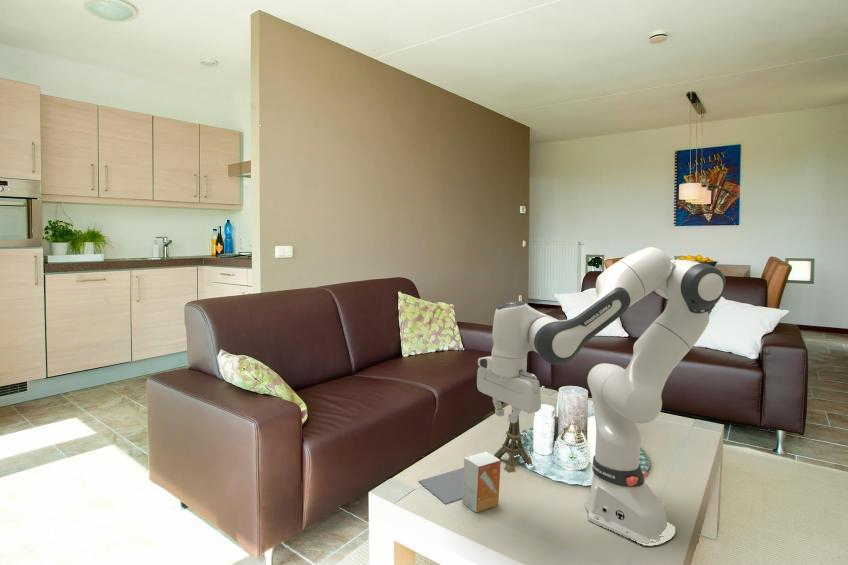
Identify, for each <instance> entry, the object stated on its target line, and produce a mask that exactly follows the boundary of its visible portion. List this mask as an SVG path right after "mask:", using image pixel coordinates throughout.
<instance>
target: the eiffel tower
mask: <svg viewBox="0 0 848 565" xmlns="http://www.w3.org/2000/svg"><path fill="white" fill-rule="evenodd" d="M512 412H513V410H512V409H511V413H510V414H512ZM520 430H521V429H520V419H519V415H518V419H517V422H516V423H512V422H510V421H509V426H508V430H506V432H505V434H506V438H505V440H504V443H502V444H501V447H500V448H499V449H498V450H497V451H496V452H495V453H494V454H493V456H495V457H496V458H498V459H500V460H501V461H502V457H503V456H504V455H505V454H506V453H507V455H508V456H509V457H508V460H507V462H506V464H505V466H504V467H503V470H505V472H507V473H508V474H510V473H514V472H517V470H516V468H515V460H514V459H515V458H514V456H516V455H518V454H519V455H520V456H521V458H522V461H523V463H527V464H528V465H529V464H532V463H533V461H532V459H531V458H530V457H529V455H528V453H527V452H526V451H525V449H526V447H524V445H523V443H522V442H523V441H522V437H523V435H522V433H521V432H520Z"/></svg>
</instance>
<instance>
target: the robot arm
mask: <svg viewBox="0 0 848 565" xmlns="http://www.w3.org/2000/svg"><path fill="white" fill-rule="evenodd" d="M725 289H726V277H725V275H724V273H723V272H722V271H721V270H719V269H718V268H717V267H715V266H713V265H710V264H708V263H701V262H698V261H696V260H695V261H694V260H689V259H673V258H670V257H669V255H668V254H667V253H666V252H665V251H663V250H662V249H661V248H659V247H655V246H648V247H644V248H642V249H639V250H637V251H635V252H633V253H631V254H630V253H629V255H627V256H624V257H623V258H621V259H619V260H618V261H615V263H613V264H611V265H610V266H608V267H607V268H606V269H604V270H603V271H602V272H601V273H600V274H599V275H598V276H597V278H596V281H595V293H596V295H597V297H596V298H595V300H594V301H593V302H591V303H590V304H589V305H587V306H586V307H585V308H583V309H582V310H580V311H579V312H578V313H576V314H575V315H574V316H572V317H570V318H568V319H564V320H563V319H557V318H555V317H553V316H551V315H550V314H549V315H548V314H546V313H543V312H540V311H538V310H536V309H535V308H533V307H531V306H530V305H529V304H527V302H525V301H522V300H521V301H520V300H516V301H515V300H510V301H506V302H503V303H501V304H499V305H498V306H497V307H496V309H495V312H494V315H493V316H494V317H493V324H492V340H493V342H492V343H493V345H492V349H491V355H490V356H489V355H488V356H484V357H479V358H478V359H477V365H478V368H477V371H476V372H477V375H476V386H477V390H478V391H479V392H481V393H483V394H484V395H487V396H489V397H491V398H492V403H493V406H494V408H495V413H494V414H495V415H496V416H497V417H499V418H500V417H504V416H505V408H503V404H502V402H503V403H505V404H507V405H508V406H511V413H512V414H511V413H509V414H508V422H509V423H510V422H512V423H516V422H517V419H518V415H519V414H521V412H522V411H523V412H524V413H527V414H533V413H537V412H539V411H540V410H541V408H542V398H541V397H542V396H541V395H542V394H541V387H540V386H541V385H540V381H539V379H538V377H537V376H536V374H533V373H531V372H527V365H528V364H527V363H528V362H527V361H528V353H529V352H535V353H537V354H538V355H539V357H541V358H542V359H543V361H545V362H546V363H548V364H551V365H557V366H561V365H564V364H567V363H570V362H571V361H573V360H574V359H575V358H576V357H577V356H578V354H579V353H580V351H581V350H582V349H583V347H584V346H585V345H586V344H587V343H588V342H589V341H590V340H591V339H593V337H596V335H598V334H599V333H600V332H602V331H603V330H605V328H607V327H609V325H611V324H612V323H613V322H615V321H616V320H617V319H619V318H620V317H621V316H622V315H623V314H624V313H625V312H626V311H627V310H628V309H629V308H630V307H631V306H633V305H634V304H636V303H637V302H639V301H640V300H642V299H643V298H645V297H646V296H647V295H650V294H651V293H653V294H654V295H656V296H657V297H661V298H664V299H667V301H666V302H667V303H666V307H665V308H664V310H663V311H662V313H661V314H659V316H658V317H656V319H655V320H654V321H653V322H652V323H651V324H650V326H648V327H647V329H645V331H644V332H643V333H642V334H641V335H640V337H638V339H637V340H636V341H635V342H634V344H633V348H632V351H633V353H632V357H631V359H630V361H629V364H628V365H627V366H626V368H623V367H622V366H620V365H617V364H612V363H607V362H606V363H602V362H601V363H599V364H596V365H595V366H593V367H591V369H590V370H589V372H588V375H587V378H586V379H587V385H588V388H589V390H590V393H591V398H592V407H593V413H594V420H595V432H596V435H595V451H594V452H595V453H594V456H593V459H592V473H593V474H592V480H591V481H592V482H591V484H590V490H589V494H588V497H587V500H586V501H585V505H584V506H585V509H586V512H587V513H588V514H587V515H588V516H587V519H588V521H590V522H592V523H593V524H595V525H598V526H600V527H601V526H602V528H604V529H606V528H607V529H606V530H608V529H609V530H608V531H610V530H612V531H614V532H616V533H618V534H621V535H623V536H625V537H628V538H630V539H633V540H635V541H639V542H641V543H645V544H649V543H656V542H659V541H661V540H660V538H661V537H664V536H659V535H661V534H662V532H663V531H664V530H665V529H666V527H667V521H668V519H667V518H668V517H667V512H666V507H665V505H664V503H663V502H662V501H661V500H660V498H659V497H658V496H657V495H656V494H655V493H654V491H653V490H652V489H651V488H650V487H649V485H648V484H647V483H646V481H645V478H647V477H648V476H649V472H648V471H646V472H643V470H642V467H641V464H640V459H641V458H640V456H641V445H642V444H641V443H642V436H641V433H640V431H639V428H638V424H640V425H641V424H642V425H644V424H645V425H646V424H648V423H651V422H653V421H654V420H656V418H658V416H659V415H660V413H661V411H662V408H663V399H662V393H663V390H664V387H665V384H666V382H667V380H668V378H669V376H670V375H671V373H672V372H673V370H674V369H675V367H676V366H678V364H679V363H680V362H681V361H682V360H683V358H684V357H685V356H686V355H687V354H688V353H689V352H690V351H691V349H692V348H693V347H694V346H695V344H696V343H697V342H698V341H699V339H700V338H701V336H702V335H703V333H704V332H705V330H706V328H707V326H708V325H709V323H710V316H709V312H710V311H711V310H713V309H714V308H715V306H716V304H718V302H720V300H721V298H722V296H723V294H724V292H725ZM512 410H513V412H512ZM612 531H611V532H612ZM614 532H613V533H614ZM616 533H615V534H616ZM618 534H617V535H618ZM621 535H620V536H621ZM623 536H622V537H623ZM625 537H624V538H625ZM650 539H652V540H653V539H654V540H656V542H654V541H650Z"/></svg>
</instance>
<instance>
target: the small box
mask: <svg viewBox="0 0 848 565" xmlns="http://www.w3.org/2000/svg"><path fill="white" fill-rule="evenodd" d="M501 463H502V462H501V460H500V459H498V458H496V457H495V456H494V454H491V453H490V452H488V451H483V452H480V453H476V454H472V455H469V456H466V457H463V468H464V475H463V496H462V499H461V502H462V503H463V504H464V505H465V506H466V507H467V508H469V509H470V510H471V511H473V512H474V513H479V512H482V511H485V510H488V509H490V508H494V507H495V506H499V498H500V480H501V466H502V465H501Z"/></svg>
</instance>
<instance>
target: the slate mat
mask: <svg viewBox="0 0 848 565" xmlns="http://www.w3.org/2000/svg"><path fill="white" fill-rule="evenodd" d="M463 475H464V467H462V468H457V469H454V470H451V471H448V472H445V473H441V474H437V475H433V476H430V477H427V478H424V479H421V480H418V481H417V482H418V483H419V484H420V485H422V487H424V488H425V489H427V491H428V492H430V493H431V494H432V495H433V496H435V497H436V498H437V499H438V500H439V501H440V502H442V503H443V504H444V505H449V504H451V503H454V502H457V501H462V496H463Z"/></svg>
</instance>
